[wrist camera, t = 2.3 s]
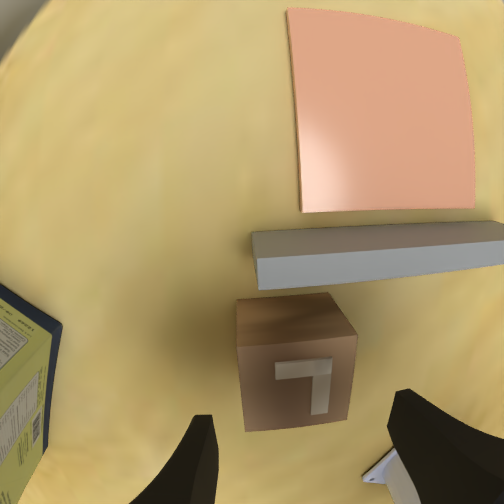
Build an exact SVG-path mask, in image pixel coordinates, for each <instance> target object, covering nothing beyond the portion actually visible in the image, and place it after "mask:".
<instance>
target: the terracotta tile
mask: <svg viewBox="0 0 504 504" xmlns="http://www.w3.org/2000/svg"><path fill="white" fill-rule="evenodd" d="M286 17H287V26H288V36H289V45H290V56H291V67H292V78H293V90H294V103H295V117H296V132H297V148H298V166H299V188H300V211H301V212H302V213H307V212H329V211H354V210H386V209H438V208H475V151H474V134H473V121H472V111H471V103H470V95H469V88H468V81H467V75H466V69H465V64H464V59H463V54H462V49H461V44H460V40H459V37H456V36H453V35H450V34H447V33H444V32H440V31H437V30H433V29H430V28H426V27H422V26H418V25H414V24H410V23H406V22H401V21H397V20H392V19H387V18H382V17H376V16H370V15H364V14H357V13H350V12H342V11H333V10H322V9H309V8H288V7H287V11H286Z"/></svg>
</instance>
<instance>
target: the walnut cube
mask: <svg viewBox="0 0 504 504" xmlns="http://www.w3.org/2000/svg"><path fill="white" fill-rule="evenodd" d="M357 338H358V334H357V333H356V331H355V330H354V328H353V327H352V326H351V324H350V323H349V321H348V320H347V318H346V317H345V315H344V314H343V313H342V311H341V310H340V308H339V307H338V305H337V304H336V303H335V301H334V300H333V298H332V297H331V296H330V294H329V293H328V292H326V293H315V294H304V295H292V296H279V297H266V298H252V299H237V340H236V347H237V357H238V368H239V378H240V387H241V397H242V406H243V416H244V425H245V432H251V431H265V430H276V429H286V428H295V427H303V426H311V425H318V424H324V423H331V422H337V421H342V420H347V416H348V409H349V403H350V396H351V389H352V382H353V374H354V366H355V357H356V348H357Z"/></svg>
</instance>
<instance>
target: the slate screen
mask: <svg viewBox="0 0 504 504" xmlns="http://www.w3.org/2000/svg"><path fill="white" fill-rule="evenodd" d="M251 234H252V251H253V260H254V266H255V272H256V278H257V284H258V290H271V289H284V288H297V287H309V286H320V285H331V284H342V283H353V282H363V281H373V280H382V279H391V278H400V277H409V276H418V275H426V274H435V273H443V272H450V271H458V270H466V269H473V268H480V267H487V266H494V265H501V264H504V224H502V223H499V222H495V221H470V222H440V223H414V224H390V225H369V226H348V227H329V228H311V229H294V230H277V231H261V232H251Z"/></svg>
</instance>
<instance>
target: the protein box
mask: <svg viewBox="0 0 504 504" xmlns="http://www.w3.org/2000/svg"><path fill="white" fill-rule="evenodd" d="M61 332H62V325H61V324H60V323H59V322H58V321H56V320H54V319H53V318H51V317H49V316H48V315H46V314H44V313H43V312H41V311H39V310H38V309H36V308H35V307H33V306H32V305H30V304H28V303H27V302H25V301H24V300H22V299H21V298H19V297H18V296H16V295H15V294H13V293H12V292H10V291H9V290H7V289H6V288H5V287H3V286H2V285H1V284H0V504H17V503H18V501H19V499H20V497H21V495H22V493H23V491H24V489H25V487H26V485H27V483H28V482H29V480H30V478H31V476H32V475H33V473H34V471H35V469H36V467H37V465H38V463H39V461H40V460H41V458H42V456H43V454H44V452H45V450H46V448H47V447H48V429H49V416H50V406H51V396H52V388H53V381H54V374H55V367H56V360H57V354H58V349H59V343H60V338H61Z"/></svg>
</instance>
